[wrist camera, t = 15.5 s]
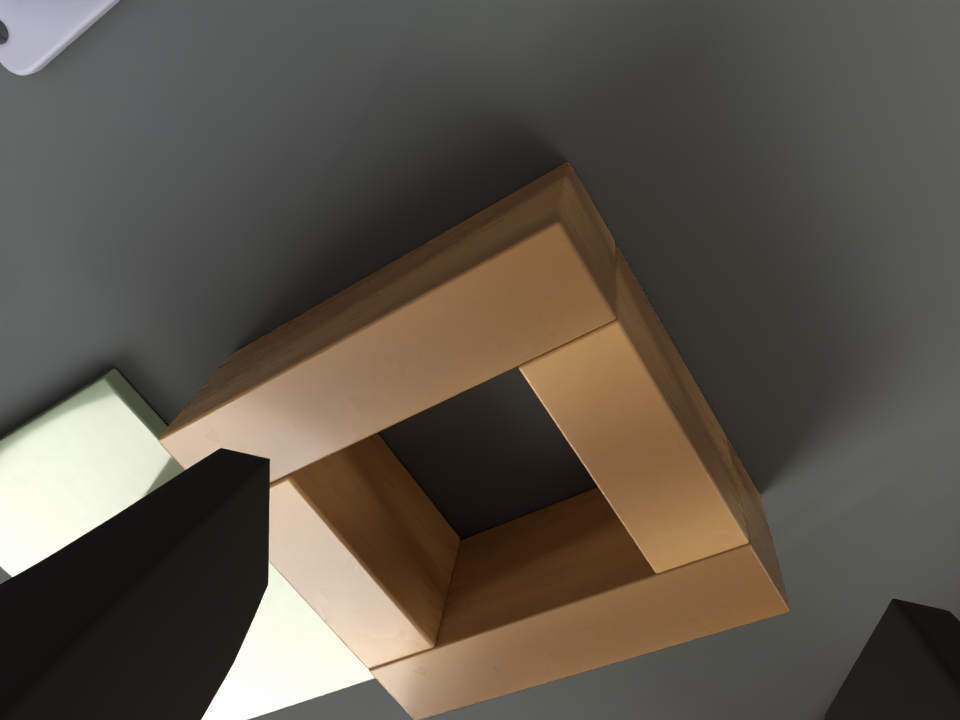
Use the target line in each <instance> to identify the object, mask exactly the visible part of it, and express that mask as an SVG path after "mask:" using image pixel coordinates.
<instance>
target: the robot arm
mask: <svg viewBox="0 0 960 720" xmlns="http://www.w3.org/2000/svg"><path fill="white" fill-rule="evenodd" d="M119 1H120V0H0V20H1V21H2V22H3V23H4V24H5V26H6V27H7V29H8V33H9V38H8V40H6V39H5V38H4V37H3V36H2V35H1V33H0V62H1V64H2V65H3V66H4V67H6V68H7V69H8V70H9V71H10V72H13V73H15V74H17V75H29V74H33V73H36V72H38V71H40V70H41V69H43V68H44V67H45V66H46V65H47V64H48V63H49V62H51V61H52V60H53V59H54V58H55V57H56V56H57V55H59V54H60V53H61V52H62V51H63V50H64V49H65V48H67V47H68V46H69V45H70V44H71V43H72V42H73V41H75V40H76V39H77V38H78V37H79V36H80V35H81V34H83V33H84V32H85V31H86V30H87V29H88V28H89V27H91V26H92V25H93V24H94V23H95V22H96V21H97V20H99V19H100V18H101V17H102V16H103V15H104V14H105V13H107V12H108V11H109V10H110V9H111V8H112V7H113V6H115V5H116V4H117V3H118V2H119ZM269 502H270V459H268V458H264V457H260V456H255V455H251V454H246V453H242V452H237V451H233V450H228V449H224V448H220V449H218V450H217V451H215V452H213V453H212V454H210V455H209V456H207V457H205V458H204V459H202V460H200V461H199V462H197V463H196V464H194V465H192V466H191V467H189V468H188V469H186V470H185V471H183V472H182V473H180V474H178V475H177V476H175V477H174V478H172V479H171V480H169V481H168V482H166V483H165V484H163V485H161V486H160V487H158V488H157V489H155V490H154V491H152V492H151V493H149V494H148V495H146V496H144V497H143V498H141V499H140V500H138V501H137V502H135V503H134V504H132V505H130V506H129V507H127V508H126V509H124V510H123V511H121V512H120V513H118V514H116V515H115V516H113V517H112V518H110V519H108V520H107V521H105V522H104V523H102V524H100V525H99V526H97V527H96V528H94V529H92V530H91V531H89V532H87V533H86V534H84V535H83V536H81V537H79V538H78V539H76V540H75V541H73V542H71V543H70V544H68V545H66V546H65V547H63V548H62V549H60V550H58V551H57V552H55V553H54V554H52V555H50V556H49V557H47V558H45V559H44V560H42V561H40V562H39V563H37V564H35V565H33V566H32V567H30V568H28V569H26V570H24V571H23V572H21V573H19V574H17V575H16V576H14V577H12V578H10V579H9V580H7V581H5V582H3V583H2V584H0V720H201V719H202V718H203V716H204V714H205V713H206V711H207V709H208V707H209V706H210V704H211V702H212V700H213V699H214V697H215V695H216V693H217V692H218V690H219V688H220V687H221V685H222V683H223V681H224V680H225V678H226V676H227V674H228V672H229V671H230V669H231V667H232V665H233V664H234V662H235V659H236V657H237V655H238V653H239V651H240V648H241V646H242V644H243V642H244V639H245V637H246V635H247V633H248V631H249V628H250V626H251V624H252V621H253V619H254V617H255V614H256V612H257V610H258V607H259V605H260V603H261V600H262V598H263V595H264V593H265V591H266V588H267V586H268V574H269ZM825 720H960V621H959V620H958V619H957V618H956V617H955V616H954V615H953V614H952V613H951V612H950V611H947V610H942V609H938V608H933V607H929V606H924V605H920V604H916V603H911V602H907V601H902V600H898V599H892V601H891V603H890V604H889V606H888V608H887V609H886V611H885V613H884V615H883V616H882V618H881V620H880V621H879V623H878V625H877V627H876V628H875V630H874V632H873V633H872V635H871V637H870V639H869V640H868V642H867V644H866V645H865V647H864V649H863V651H862V652H861V654H860V656H859V657H858V659H857V661H856V663H855V664H854V666H853V668H852V669H851V671H850V673H849V675H848V676H847V678H846V680H845V681H844V683H843V685H842V687H841V688H840V690H839V692H838V694H837V695H836V697H835V699H834V700H833V702H832V704H831V706H830V707H829V709H828V711H827V712H826V714H825Z"/></svg>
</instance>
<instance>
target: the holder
mask: <svg viewBox="0 0 960 720" xmlns="http://www.w3.org/2000/svg"><path fill="white" fill-rule="evenodd" d="M518 365H519V370H520V371H521V373H522V374H523V376H524V377H525V379H526V380H527V382H528V383H529V385H530V386H531V388H532V389H533V391H534V392H535V394H536V395H537V397H538V398H539V400H540V401H541V403H542V404H543V406H544V407H545V409H546V410H547V412H548V413H549V415H550V416H551V418H552V419H553V421H554V422H555V424H556V425H557V427H558V428H559V430H560V431H561V433H562V434H563V436H564V437H565V439H566V440H567V442H568V443H569V445H570V446H571V448H572V449H573V451H574V452H575V454H576V455H577V456H578V458H579V459H580V461H581V462H582V464H583V465H584V467H585V468H586V470H587V471H588V473H589V474H590V476H591V477H592V479H593V480H594V482H595V483H596V485H597V486H598V487H597V488H594V489H592V490H589V491H587V492H584V493H581V494H579V495H576V496H574V497H571V498H569V499H566V500H563V501H561V502H558V503H556V504H553V505H551V506H548V507H545V508H543V509H540V510H538V511H535V512H533V513H530V514H527V515H525V516H522V517H520V518H517V519H515V520H512V521H509V522H507V523H504V524H502V525H499V526H497V527H494V528H492V529H489V530H486V531H484V532H481V533H479V534H476V535H474V536H471V537H468V538H466V539H463V540H461V541H460V538H459V536H458V535H457V534H456V533H455V531H454V530H453V529H452V527H451V526H450V525H449V524H448V522H447V521H446V520H445V518H444V517H443V516H442V515H441V513H440V512H439V511H438V510H437V508H436V507H435V506H434V504H433V503H432V502H431V501H430V499H429V498H428V497H427V495H426V494H425V493H424V492H423V490H422V489H421V488H420V486H419V485H418V484H417V483H416V481H415V480H414V479H413V478H412V476H411V475H410V474H409V472H408V471H407V470H406V469H405V467H404V466H403V465H402V463H401V462H400V461H399V460H398V458H397V457H396V456H395V454H394V453H393V452H392V451H391V449H390V448H389V447H388V446H387V444H386V443H385V442H384V440H383V439H382V438H381V437H380V435H379V434H378V433H377V432H379V431H381V430H384V429H386V428H388V427H390V426H392V425H394V424H396V423H398V422H400V421H403V420H405V419H407V418H409V417H411V416H413V415H415V414H417V413H419V412H422V411H424V410H426V409H428V408H430V407H432V406H434V405H436V404H438V403H440V402H443V401H445V400H447V399H449V398H451V397H453V396H455V395H457V394H459V393H462V392H464V391H466V390H468V389H470V388H472V387H474V386H476V385H478V384H480V383H483V382H485V381H487V380H489V379H491V378H493V377H495V376H497V375H499V374H502V373H504V372H506V371H508V370H510V369H512V368H514V367H516V366H518ZM158 442H159V443H160V444H161V445H162V446H163V447H164V448H165V449H166V450H167V452H168V453H169V454H170V455H171V456H172V457H173V458H174V459H175V460H176V461H177V462H178V463H179V465H180V466H181V467H182V468H183V469H184V470H186V469H188V468H189V467H191V466H192V465H194V464H196V463H197V462H199V461H200V460H202V459H204V458H205V457H207V456H209V455H210V454H212V453H213V452H215V451H217V450H218V449H220V448H224V449H228V450H233V451H237V452H242V453H246V454H251V455H255V456H260V457H264V458H268V459H270V502H269V562H270V563H271V564H272V565H273V566H274V567H275V569H276V570H277V571H278V572H279V573H280V574H281V575H282V576H283V577H284V578H285V579H286V580H287V582H288V583H289V584H290V585H291V586H292V587H293V588H294V589H295V590H296V591H297V592H298V594H299V595H300V596H301V597H302V598H303V599H304V600H305V601H306V602H307V603H308V604H309V606H310V607H311V608H312V609H313V610H314V611H315V612H316V613H317V614H318V615H319V616H320V617H321V619H322V620H323V621H324V622H325V623H326V624H327V625H328V626H329V627H330V628H331V629H332V631H333V632H334V633H335V634H336V635H337V636H338V637H339V638H340V639H341V640H342V641H343V643H344V644H345V645H346V646H347V647H348V648H349V649H350V650H351V651H352V652H353V653H354V655H355V656H356V657H357V658H358V659H359V660H360V661H361V662H362V663H363V664H364V665H365V666H366V668H369V671H370V673H371V674H372V675H373V676H374V677H375V678H376V679H377V680H378V681H379V683H380V684H381V685H382V686H383V687H384V688H385V689H386V690H387V691H388V692H389V693H390V695H391V696H392V697H393V698H394V699H395V700H396V701H397V702H398V703H399V704H400V705H401V706H402V708H403V709H404V710H405V711H406V712H407V713H408V714H409V715H410V716H411V717H412V718H413V720H421V719H424V718H428V717H431V716H435V715H438V714H442V713H445V712H448V711H452V710H455V709H459V708H462V707H466V706H469V705H472V704H476V703H479V702H483V701H486V700H489V699H493V698H496V697H500V696H503V695H507V694H510V693H513V692H517V691H520V690H524V689H527V688H530V687H534V686H537V685H541V684H544V683H548V682H551V681H554V680H558V679H561V678H565V677H568V676H572V675H575V674H578V673H582V672H585V671H589V670H592V669H595V668H599V667H602V666H606V665H609V664H613V663H616V662H619V661H623V660H626V659H630V658H633V657H636V656H640V655H643V654H647V653H650V652H654V651H657V650H660V649H664V648H667V647H671V646H674V645H678V644H681V643H684V642H688V641H691V640H695V639H698V638H701V637H705V636H708V635H712V634H715V633H719V632H722V631H725V630H729V629H732V628H736V627H739V626H742V625H746V624H749V623H753V622H756V621H760V620H763V619H766V618H770V617H773V616H777V615H780V614H784V613H787V612H789V611H790V606H789V602H788V598H787V594H786V590H785V587H784V583H783V579H782V575H781V571H780V568H779V564H778V560H777V556H776V552H775V548H774V545H773V541H772V537H771V533H770V529H769V526H768V522H767V518H766V514H765V510H764V507H763V503H762V499H761V496H760V494H759V493H758V491H757V489H756V487H755V485H754V484H753V482H752V480H751V478H750V477H749V475H748V473H747V471H746V470H745V468H744V466H743V464H742V463H741V461H740V459H739V457H738V456H737V454H736V452H735V450H734V449H733V447H732V445H731V443H730V442H729V440H728V439H727V438H726V435H725V433H724V431H723V430H722V428H721V426H720V424H719V423H718V421H717V419H716V417H715V416H714V414H713V412H712V410H711V409H710V407H709V405H708V403H707V402H706V400H705V398H704V396H703V395H702V393H701V391H700V389H699V388H698V386H697V384H696V382H695V381H694V379H693V377H692V375H691V374H690V372H689V370H688V368H687V366H686V365H685V363H684V361H683V359H682V358H681V356H680V354H679V352H678V351H677V349H676V347H675V345H674V344H673V342H672V340H671V338H670V337H669V335H668V333H667V331H666V330H665V328H664V326H663V324H662V323H661V321H660V319H659V317H658V316H657V314H656V312H655V310H654V309H653V307H652V305H651V303H650V302H649V300H648V298H647V296H646V295H645V293H644V291H643V289H642V288H641V286H640V284H639V282H638V281H637V279H636V277H635V275H634V274H633V272H632V270H631V268H630V267H629V265H628V263H627V261H626V260H625V258H624V256H623V254H622V253H621V251H620V249H619V247H618V246H617V245H615V240H614V239H613V237H612V235H611V233H610V232H609V230H608V228H607V226H606V225H605V223H604V221H603V219H602V218H601V216H600V214H599V212H598V211H597V209H596V207H595V205H594V203H593V202H592V200H591V198H590V196H589V195H588V193H587V191H586V189H585V188H584V186H583V184H582V182H581V181H580V179H579V177H578V175H577V174H576V172H575V170H574V168H573V167H572V165H571V164H570V163H569V162H566V163H564V164H563V165H561V166H559V167H557V168H556V169H554V170H552V171H550V172H549V173H547V174H545V175H543V176H542V177H540V178H538V179H537V180H535V181H533V182H531V183H530V184H528V185H526V186H524V187H523V188H521V189H519V190H517V191H516V192H514V193H512V194H510V195H509V196H507V197H505V198H503V199H502V200H500V201H498V202H496V203H495V204H493V205H491V206H489V207H488V208H486V209H484V210H482V211H481V212H479V213H477V214H475V215H474V216H472V217H470V218H468V219H467V220H465V221H463V222H461V223H460V224H458V225H456V226H455V227H453V228H451V229H449V230H448V231H446V232H444V233H442V234H441V235H439V236H437V237H435V238H434V239H432V240H430V241H428V242H427V243H425V244H423V245H421V246H420V247H418V248H416V249H414V250H413V251H411V252H409V253H407V254H406V255H404V256H402V257H400V258H399V259H397V260H395V261H393V262H392V263H390V264H388V265H386V266H385V267H383V268H381V269H380V270H378V271H376V272H374V273H373V274H371V275H369V276H367V277H366V278H364V279H362V280H360V281H359V282H357V283H355V284H353V285H352V286H350V287H348V288H346V289H345V290H343V291H341V292H339V293H338V294H336V295H334V296H332V297H331V298H329V299H327V300H325V301H324V302H322V303H320V304H318V305H317V306H315V307H313V308H311V309H310V310H308V311H306V312H304V313H303V314H301V315H299V316H298V317H296V318H294V319H292V320H291V321H289V322H287V323H285V324H284V325H282V326H280V327H278V328H277V329H275V330H273V331H271V332H270V333H268V334H266V335H264V336H263V337H261V338H259V339H257V340H256V341H254V342H252V343H250V344H249V345H247V346H245V347H243V348H242V349H240V350H238V351H236V352H235V353H233V354H231V355H230V356H229V357H228V359H227V360H226V361H225V362H224V363H223V364H222V365H221V367H220V368H219V369H218V370H217V371H216V372H215V373H214V375H213V376H212V377H211V378H210V379H209V380H208V381H207V383H206V384H205V385H204V386H203V387H202V388H201V389H200V391H199V392H198V393H197V394H196V395H195V396H194V398H193V399H192V400H191V401H190V402H189V403H188V404H187V406H186V407H185V408H184V409H183V410H182V411H181V412H180V414H179V415H178V416H177V417H176V418H175V419H174V420H173V422H172V423H171V424H170V425H169V426H168V427H167V428H166V430H165V431H164V432H163V433H162V434H161V435H160V436H159V438H158Z"/></svg>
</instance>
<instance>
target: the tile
mask: <svg viewBox="0 0 960 720" xmlns="http://www.w3.org/2000/svg"><path fill="white" fill-rule="evenodd" d="M167 427H168V426H167V425H166V424H165V423H164V422H163V420H162V419H161V418H160V417H159V416H158V415H157V414H156V413H155V412H154V410H153V409H152V408H151V407H150V406H149V405H148V404H147V403H146V402H145V401H144V399H143V398H142V397H141V396H140V395H139V394H138V393H137V392H136V391H135V389H134V388H133V387H132V386H131V385H130V384H129V383H128V382H127V381H126V380H125V378H124V377H123V376H122V375H121V374H120V373H119V372H118V371H117V370H116V369H112V370H110V371H109V372H107V373H105V374H104V375H102V376H100V377H99V378H97V379H96V380H94V381H92V382H91V383H89V384H87V385H86V386H84V387H83V388H81V389H79V390H78V391H76V392H74V393H73V394H71V395H69V396H68V397H66V398H65V399H63V400H61V401H60V402H58V403H56V404H55V405H53V406H51V407H50V408H48V409H47V410H45V411H43V412H42V413H40V414H38V415H37V416H35V417H33V418H32V419H30V420H29V421H27V422H25V423H24V424H22V425H20V426H19V427H17V428H16V429H14V430H12V431H11V432H9V433H7V434H6V435H4V436H2V437H1V438H0V567H1V568H3V569H4V570H5V571H6V572H7V573H8V574H9V575H10V576H11V577H14V576H16V575H17V574H19V573H21V572H23V571H24V570H26V569H28V568H30V567H32V566H33V565H35V564H37V563H39V562H40V561H42V560H44V559H45V558H47V557H49V556H50V555H52V554H54V553H55V552H57V551H58V550H60V549H62V548H63V547H65V546H66V545H68V544H70V543H71V542H73V541H75V540H76V539H78V538H79V537H81V536H83V535H84V534H86V533H87V532H89V531H91V530H92V529H94V528H96V527H97V526H99V525H100V524H102V523H104V522H105V521H107V520H108V519H110V518H112V517H113V516H115V515H116V514H118V513H120V512H121V511H123V510H124V509H126V508H127V507H129V506H130V505H132V504H134V503H135V502H137V501H138V500H140V499H141V498H143V497H144V496H146V495H148V494H149V493H151V492H152V491H154V490H155V489H157V488H158V487H160V486H161V485H163V484H165V483H166V482H168V481H169V480H171V479H172V478H174V477H175V476H177V475H178V474H180V473H182V472H183V471H185V470H184V469H183V468H182V467H181V466H180V465H179V463H178V462H177V461H176V460H175V459H174V458H173V457H172V456H171V455H170V454H169V453H168V452H167V450H166V449H165V448H164V447H163V446H162V445H161V444H160V443H159V442H158V438H159V436H160V435H161V434H162V433H163V432H164V431H165V430H166V428H167ZM372 679H375V677H374V676H373V675H372V674H371V673H370V671H369V668H366V666H365V665H364V664H363V663H362V662H361V661H360V660H359V659H358V658H357V657H356V656H355V655H354V653H353V652H352V651H351V650H350V649H349V648H348V647H347V646H346V645H345V644H344V643H343V641H342V640H341V639H340V638H339V637H338V636H337V635H336V634H335V633H334V632H333V631H332V629H331V628H330V627H329V626H328V625H327V624H326V623H325V622H324V621H323V620H322V619H321V617H320V616H319V615H318V614H317V613H316V612H315V611H314V610H313V609H312V608H311V607H310V606H309V604H308V603H307V602H306V601H305V600H304V599H303V598H302V597H301V596H300V595H299V594H298V592H297V591H296V590H295V589H294V588H293V587H292V586H291V585H290V584H289V583H288V582H287V580H286V579H285V578H284V577H283V576H282V575H281V574H280V573H279V572H278V571H277V570H276V569H275V567H274V566H273V565H272V564H271V563H270V562H269V574H268V586H267V588H266V591H265V593H264V595H263V598H262V600H261V603H260V605H259V607H258V610H257V612H256V614H255V617H254V619H253V621H252V624H251V626H250V628H249V631H248V633H247V635H246V637H245V639H244V642H243V644H242V646H241V648H240V651H239V653H238V655H237V657H236V659H235V662H234V664H233V665H232V667H231V669H230V671H229V672H228V674H227V676H226V678H225V680H224V681H223V683H222V685H221V687H220V688H219V690H218V692H217V693H216V695H215V697H214V699H213V700H212V702H211V704H210V706H209V707H208V709H207V711H206V713H205V714H204V716H203V718H202V719H201V720H249V719H252V718H255V717H258V716H262V715H265V714H268V713H271V712H274V711H277V710H280V709H283V708H286V707H289V706H292V705H295V704H298V703H301V702H305V701H308V700H311V699H314V698H317V697H320V696H323V695H326V694H329V693H332V692H335V691H338V690H341V689H344V688H348V687H351V686H354V685H357V684H360V683H363V682H366V681H369V680H372Z"/></svg>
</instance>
